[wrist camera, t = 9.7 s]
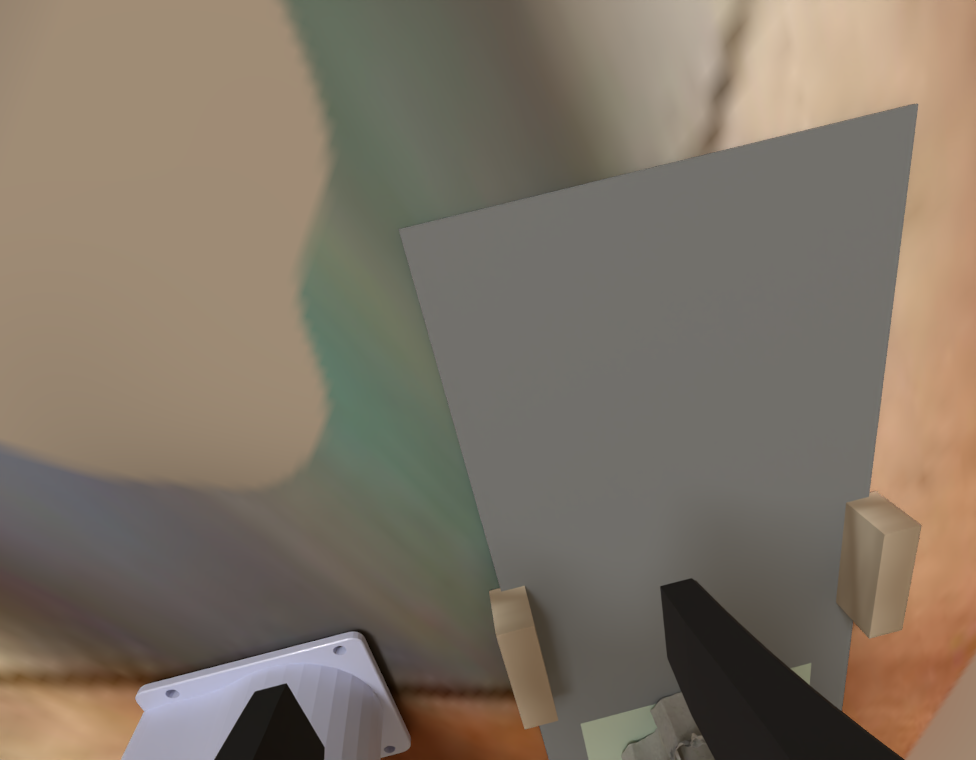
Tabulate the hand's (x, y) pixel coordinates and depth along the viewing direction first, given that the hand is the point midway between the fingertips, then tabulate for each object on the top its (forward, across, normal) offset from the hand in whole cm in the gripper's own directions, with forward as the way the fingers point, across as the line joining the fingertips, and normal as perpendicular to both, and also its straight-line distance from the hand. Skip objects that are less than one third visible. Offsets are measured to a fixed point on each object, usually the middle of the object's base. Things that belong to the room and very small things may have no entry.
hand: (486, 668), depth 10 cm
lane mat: (+9, -8, +12) cm, 17 cm away
